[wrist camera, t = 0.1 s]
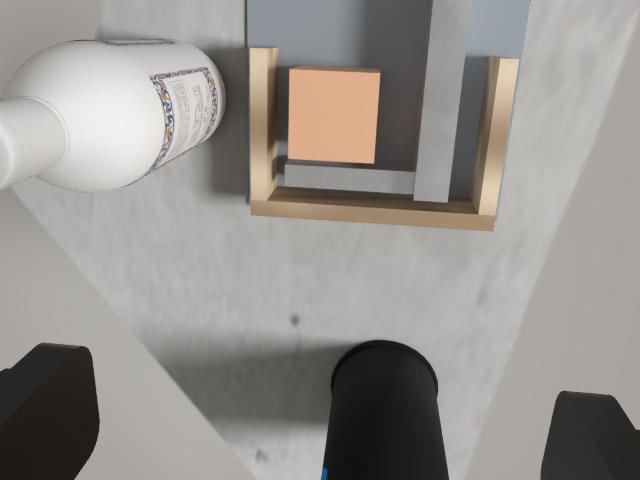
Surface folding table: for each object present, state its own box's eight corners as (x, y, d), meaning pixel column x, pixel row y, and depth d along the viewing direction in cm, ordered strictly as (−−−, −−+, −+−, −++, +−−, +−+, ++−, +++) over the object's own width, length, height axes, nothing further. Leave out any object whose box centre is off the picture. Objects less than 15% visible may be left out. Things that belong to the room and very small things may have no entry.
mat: (246, -127, 32) (246, -129, 32) (548, -123, 31) (549, -124, 31) (249, 204, 39) (248, 204, 39) (495, 220, 38) (496, 221, 38)
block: (301, 65, 35) (289, 69, 31) (380, 68, 35) (380, 73, 30) (299, 143, 37) (287, 158, 32) (374, 147, 37) (374, 163, 32)
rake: (297, -94, 32) (284, -113, 28) (471, -90, 32) (485, -109, 28) (291, 175, 38) (280, 191, 34) (440, 184, 37) (447, 202, 33)
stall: (263, 46, 35) (249, 47, 32) (503, 56, 34) (519, 59, 30) (263, 198, 39) (250, 215, 35) (481, 212, 38) (492, 231, 34)
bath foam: (107, 99, 38) (-162, 160, 19) (164, 15, 35) (-76, -9, 17) (188, 167, 39) (8, 287, 20) (249, 89, 37) (110, 143, 18)
